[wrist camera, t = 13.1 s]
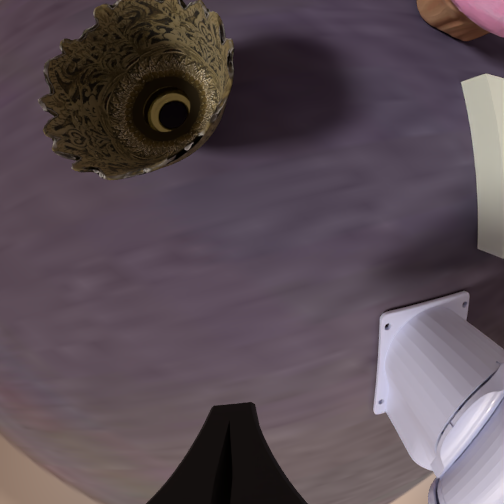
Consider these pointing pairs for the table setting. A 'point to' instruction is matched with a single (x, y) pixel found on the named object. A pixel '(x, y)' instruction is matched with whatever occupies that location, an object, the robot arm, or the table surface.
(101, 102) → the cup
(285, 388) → the table surface
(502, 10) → the cupcake
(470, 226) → the table surface
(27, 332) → the table surface
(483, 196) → the board
